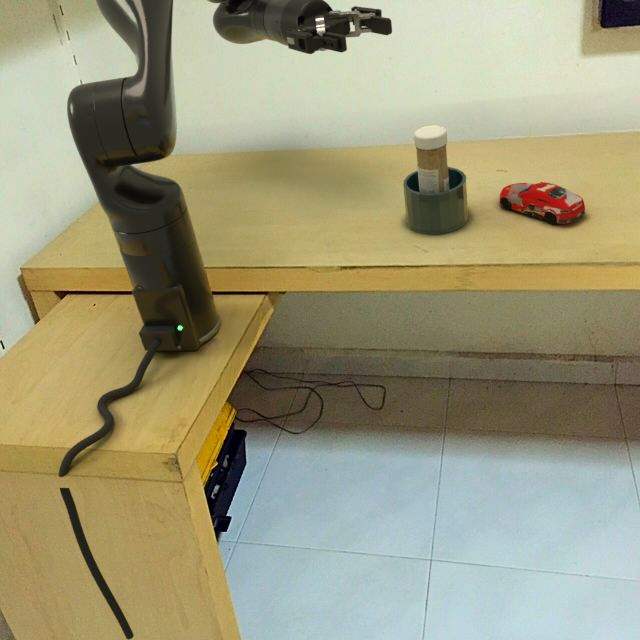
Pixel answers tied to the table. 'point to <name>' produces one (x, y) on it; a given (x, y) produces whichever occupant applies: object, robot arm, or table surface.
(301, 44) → the robot arm
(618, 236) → the table surface
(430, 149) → the sprinkles bottle
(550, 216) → the race car
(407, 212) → the cup
